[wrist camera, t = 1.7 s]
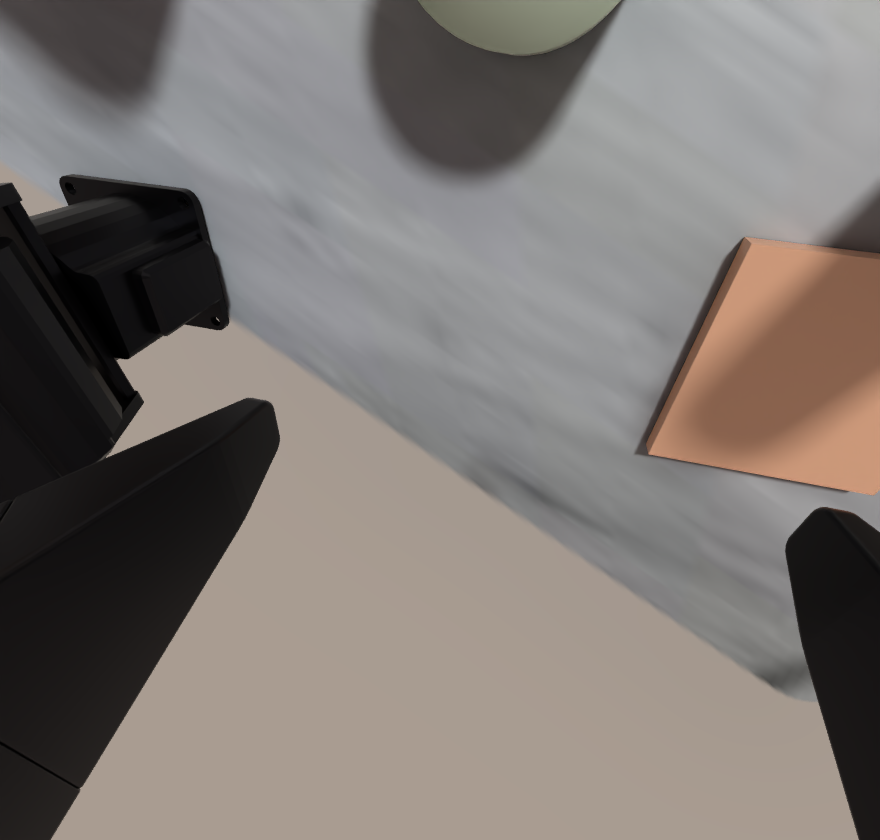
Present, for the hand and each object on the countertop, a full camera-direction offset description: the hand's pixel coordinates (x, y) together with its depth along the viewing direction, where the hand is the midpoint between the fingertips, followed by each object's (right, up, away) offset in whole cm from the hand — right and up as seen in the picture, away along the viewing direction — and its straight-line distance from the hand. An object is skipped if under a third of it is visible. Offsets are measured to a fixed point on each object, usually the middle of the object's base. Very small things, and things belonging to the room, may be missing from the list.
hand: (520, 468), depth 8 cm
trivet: (+14, +3, +11) cm, 18 cm away
